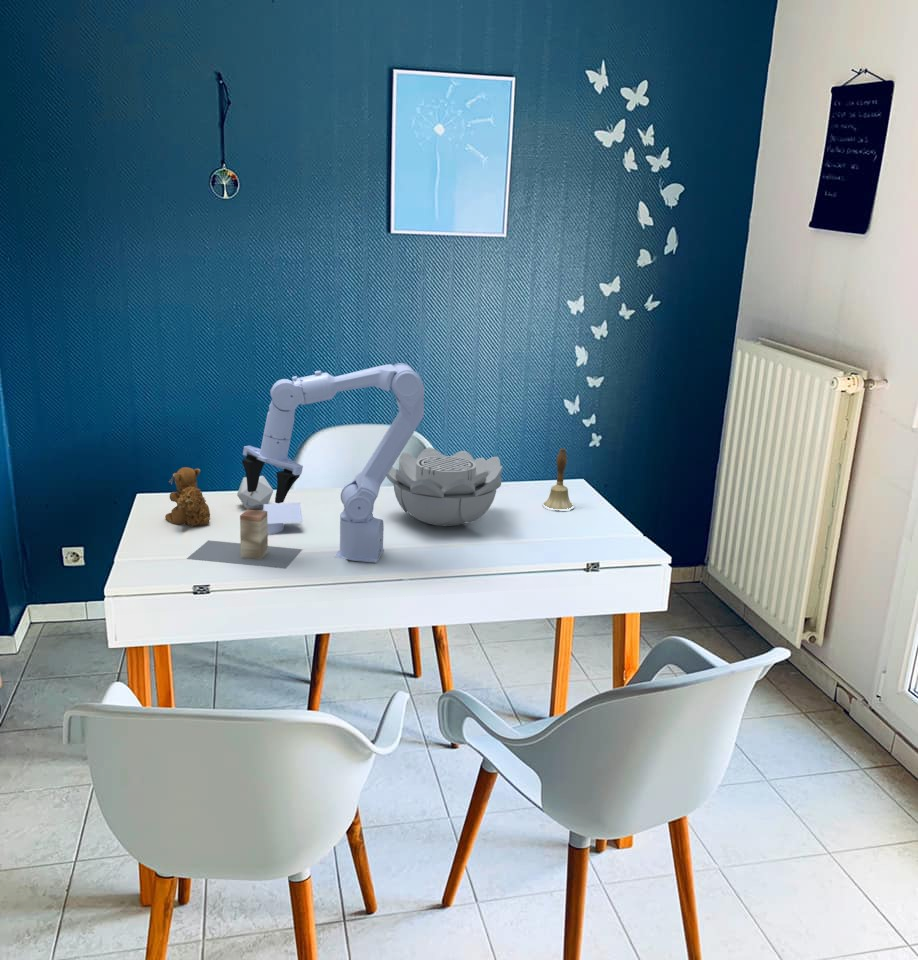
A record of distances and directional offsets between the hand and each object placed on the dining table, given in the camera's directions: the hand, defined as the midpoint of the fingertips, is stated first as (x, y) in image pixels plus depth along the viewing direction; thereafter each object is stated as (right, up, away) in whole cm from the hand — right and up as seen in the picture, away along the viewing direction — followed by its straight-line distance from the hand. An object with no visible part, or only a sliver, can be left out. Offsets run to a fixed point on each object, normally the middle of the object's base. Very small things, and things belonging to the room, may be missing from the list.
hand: (265, 496), depth 204 cm
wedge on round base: (-3, -9, +22) cm, 23 cm away
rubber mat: (-5, -13, +4) cm, 15 cm away
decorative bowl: (+38, -7, +34) cm, 52 cm away
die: (-10, -3, +38) cm, 40 cm away
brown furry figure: (-23, -7, +24) cm, 34 cm away
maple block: (-3, -13, +4) cm, 14 cm away
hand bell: (+68, -4, +50) cm, 84 cm away
